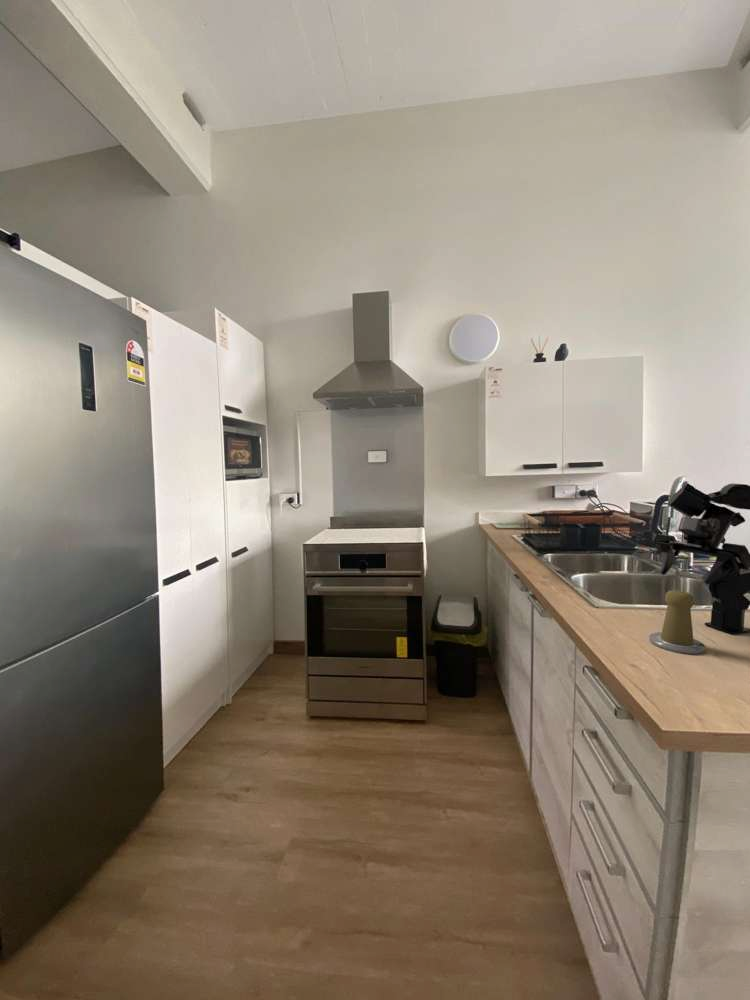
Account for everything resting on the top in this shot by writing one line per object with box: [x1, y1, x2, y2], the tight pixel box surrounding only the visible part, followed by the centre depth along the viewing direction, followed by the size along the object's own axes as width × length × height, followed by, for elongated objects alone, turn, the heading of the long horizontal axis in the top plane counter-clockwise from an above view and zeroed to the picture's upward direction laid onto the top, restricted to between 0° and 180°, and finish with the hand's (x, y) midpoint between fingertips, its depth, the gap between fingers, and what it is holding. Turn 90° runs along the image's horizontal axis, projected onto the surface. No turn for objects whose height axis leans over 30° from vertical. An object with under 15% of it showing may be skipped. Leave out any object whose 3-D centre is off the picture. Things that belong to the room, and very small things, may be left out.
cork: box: [661, 589, 695, 646], centre depth 94 cm, size 6×6×11 cm
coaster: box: [648, 631, 706, 655], centre depth 94 cm, size 10×10×1 cm
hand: (683, 578), depth 98 cm, fingers open, 9 cm apart
